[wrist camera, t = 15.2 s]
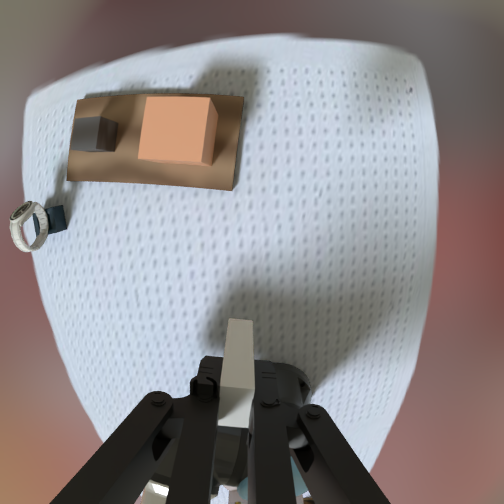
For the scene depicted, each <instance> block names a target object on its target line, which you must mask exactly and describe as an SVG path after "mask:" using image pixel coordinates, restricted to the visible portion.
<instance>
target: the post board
mask: <svg viewBox="0 0 504 504" xmlns="http://www.w3.org/2000/svg"><path fill="white" fill-rule="evenodd" d="M147 97H207V98H210V99H211V101H212V103H213V105H214V107H215V109H216V111H217V113H218V122H217V129H216V136H215V144H214V152H213V160H212V166H202V165H189V164H174V163H159V162H153V161H148V160H142V159H138V153H139V145H140V137H141V130H142V123H143V117H144V111H145V105H146V100H147ZM243 102H244V97H240V96H228V95H213V94H187V93H156V94H131V95H117V96H106V97H96V98H88V99H80V100H77V104H76V109H75V114H74V120H73V126H72V133H71V140H70V148H69V157H68V168H67V181H95V182H122V183H141V184H157V185H171V186H184V187H195V188H206V189H217V190H226V191H232V188H233V179H234V171H235V163H236V155H237V147H238V139H239V131H240V124H241V116H242V109H243Z"/></svg>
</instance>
